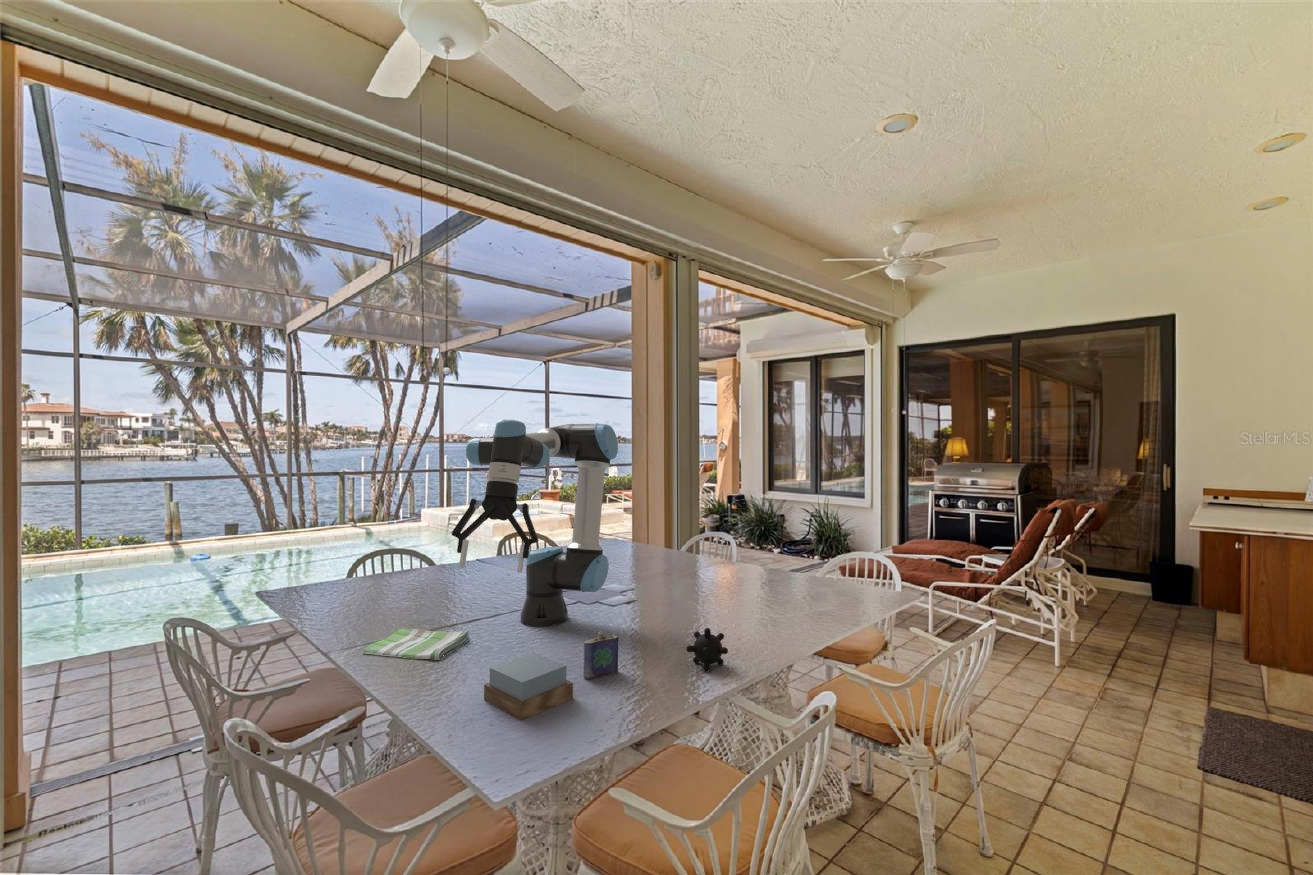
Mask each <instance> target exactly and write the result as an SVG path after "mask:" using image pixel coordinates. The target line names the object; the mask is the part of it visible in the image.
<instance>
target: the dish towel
mask: <svg viewBox="0 0 1313 875" xmlns="http://www.w3.org/2000/svg"><path fill="white" fill-rule="evenodd" d="M470 637H471V636H469V630H461V631H439V630H438V631H432V630H431V631H430V630H426V629H415V628H399V629H397V630H396V631H395V632H393V633H392V634H391V635H389V636H388V637H386V638H384V639H382V640H379V641H376V642H373V643H371V644H369V645H368V646H367V647H366V648H365V649H363V651H364V652H373V653H379V654H383V655H396V656H401V657H407V658H413V659H412V660H416V659H431V660H430V661H434V660H437V661H438V660H439V661H441V660H442V659H444V658H446V657H447V656H449V655H450V654H451V653H453V652H454V651H455V650H457V649H458V648H461V647H462V646H464V645H465V643H467V642H469V641H470ZM452 651H453V652H452ZM443 655H444V656H443ZM446 655H447V656H446ZM440 659H441V660H440Z"/></svg>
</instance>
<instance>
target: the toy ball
mask: <svg viewBox="0 0 1313 875" xmlns="http://www.w3.org/2000/svg"><path fill="white" fill-rule="evenodd" d="M711 632H712V631H711V628H709V627H706V628H704V631H703V634H701V633H700V632H699V631H695V632H694V633H693V636H694V638H695V641H694V643H693V645H691V644H690V645H687V646H686V651H687V652H688V653H693V655H694V656H693V658H692V661H693V663H694V662H695V663H694V664H698V663H701V664H703V667H702V668H703V669H704V670H705V671H708V670H711V665H714V664H715V663H717V665H719V664H723V665H724V663H725V661H724V659H723V658H722V655H727V654H729V649H728V648H727V647H724V646H722V645H723V644H722V640H724V638H725V635H724V633H722V632H719V633H718V634H717V635H714V634H712V633H711ZM697 662H698V663H697ZM704 670H703V671H704ZM705 671H704V672H705Z"/></svg>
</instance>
